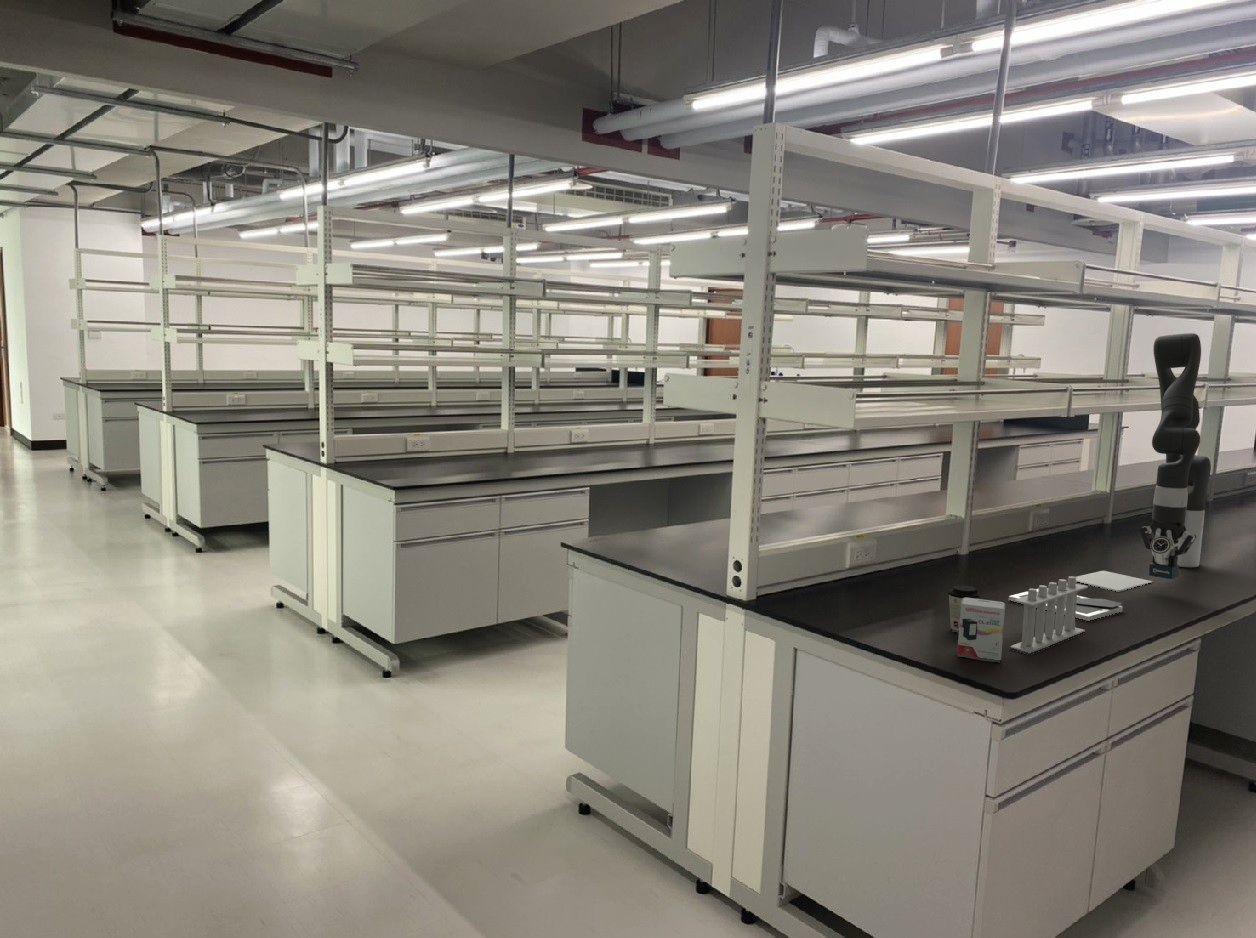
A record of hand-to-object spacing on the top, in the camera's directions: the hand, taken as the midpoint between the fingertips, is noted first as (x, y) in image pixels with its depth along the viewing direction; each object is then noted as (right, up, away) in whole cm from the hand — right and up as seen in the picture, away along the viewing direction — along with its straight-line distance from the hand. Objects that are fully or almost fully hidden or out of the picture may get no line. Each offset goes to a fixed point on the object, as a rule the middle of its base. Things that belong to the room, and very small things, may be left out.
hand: (1164, 567), depth 238 cm
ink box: (-68, -13, -50) cm, 86 cm away
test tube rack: (-49, -12, -39) cm, 63 cm away
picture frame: (-32, -9, -12) cm, 35 cm away
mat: (-7, -5, +13) cm, 16 cm away
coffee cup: (-66, -11, -33) cm, 74 cm away
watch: (0, -3, 0) cm, 3 cm away
